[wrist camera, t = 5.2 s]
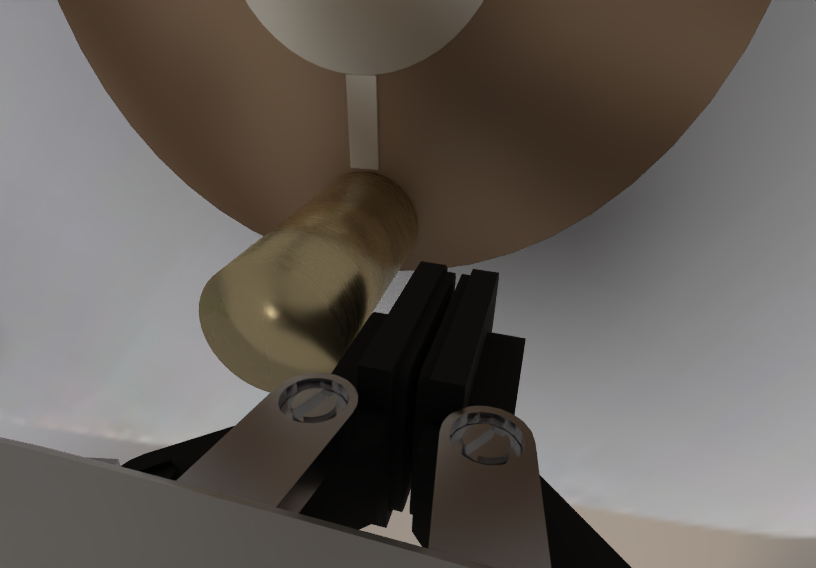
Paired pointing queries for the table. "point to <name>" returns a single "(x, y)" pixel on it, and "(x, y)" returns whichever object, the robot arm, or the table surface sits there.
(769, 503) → the table surface
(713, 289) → the table surface
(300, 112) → the turntable
